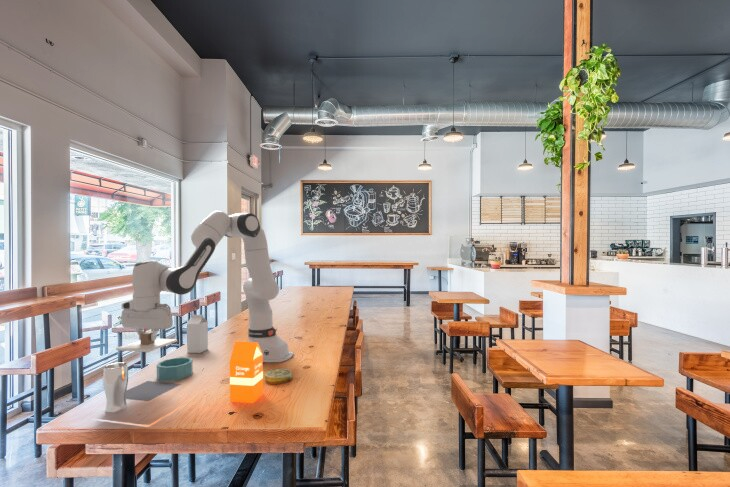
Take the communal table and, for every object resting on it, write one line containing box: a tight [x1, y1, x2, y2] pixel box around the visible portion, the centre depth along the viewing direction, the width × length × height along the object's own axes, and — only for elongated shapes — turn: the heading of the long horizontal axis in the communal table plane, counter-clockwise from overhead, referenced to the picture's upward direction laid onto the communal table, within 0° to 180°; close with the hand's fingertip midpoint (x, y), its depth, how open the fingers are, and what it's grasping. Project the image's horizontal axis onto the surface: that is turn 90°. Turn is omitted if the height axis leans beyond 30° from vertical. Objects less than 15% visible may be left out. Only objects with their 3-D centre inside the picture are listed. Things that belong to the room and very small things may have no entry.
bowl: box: [156, 357, 194, 382], centre depth 154 cm, size 13×13×6 cm
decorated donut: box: [264, 367, 293, 385], centre depth 148 cm, size 10×11×4 cm
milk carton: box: [186, 314, 209, 354], centre depth 190 cm, size 7×7×19 cm
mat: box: [126, 380, 182, 402], centre depth 138 cm, size 16×16×1 cm
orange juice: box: [229, 341, 264, 404], centre depth 131 cm, size 8×9×20 cm
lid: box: [115, 331, 178, 353], centre depth 138 cm, size 14×14×5 cm
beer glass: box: [102, 361, 129, 413], centre depth 123 cm, size 7×7×15 cm
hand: (147, 340), depth 138 cm, fingers closed on lid, 3 cm apart
